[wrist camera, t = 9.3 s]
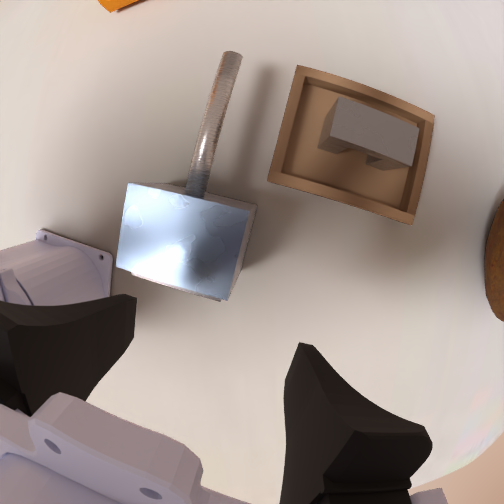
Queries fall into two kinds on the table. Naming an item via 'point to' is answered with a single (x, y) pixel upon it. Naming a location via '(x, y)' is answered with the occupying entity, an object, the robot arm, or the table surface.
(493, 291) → the potato
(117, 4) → the bracket
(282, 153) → the tray
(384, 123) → the block
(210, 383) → the table surface
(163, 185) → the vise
